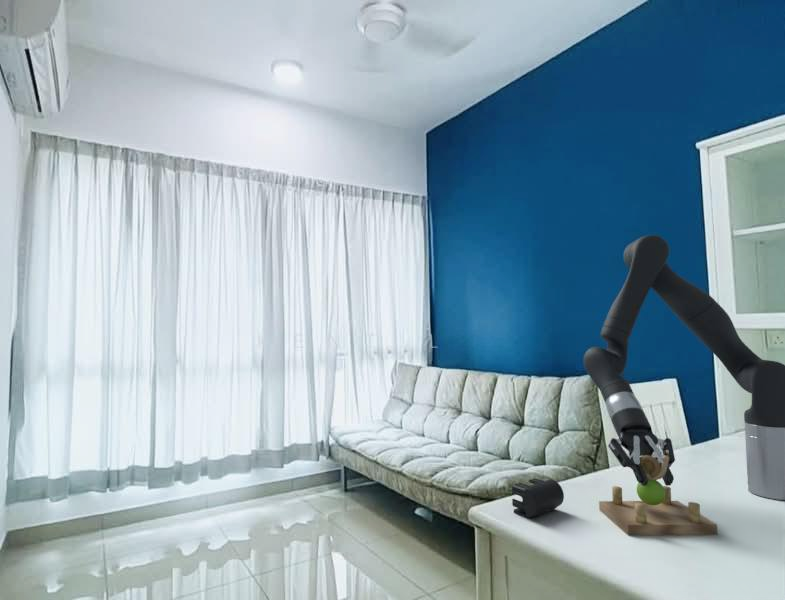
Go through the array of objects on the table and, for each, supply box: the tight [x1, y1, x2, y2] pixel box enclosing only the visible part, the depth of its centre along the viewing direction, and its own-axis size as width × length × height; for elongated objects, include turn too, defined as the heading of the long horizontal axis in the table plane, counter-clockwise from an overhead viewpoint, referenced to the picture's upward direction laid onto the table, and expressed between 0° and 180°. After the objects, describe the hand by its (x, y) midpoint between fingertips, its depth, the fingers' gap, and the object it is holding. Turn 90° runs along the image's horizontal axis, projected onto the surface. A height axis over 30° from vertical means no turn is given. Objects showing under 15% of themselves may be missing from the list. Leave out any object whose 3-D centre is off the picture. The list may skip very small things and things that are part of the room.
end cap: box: [511, 477, 565, 519], centre depth 106 cm, size 10×7×7 cm
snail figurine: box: [636, 450, 669, 505], centre depth 101 cm, size 5×6×12 cm
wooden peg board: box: [598, 485, 718, 536], centre depth 100 cm, size 18×13×6 cm
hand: (657, 483), depth 99 cm, fingers closed on snail figurine, 4 cm apart
